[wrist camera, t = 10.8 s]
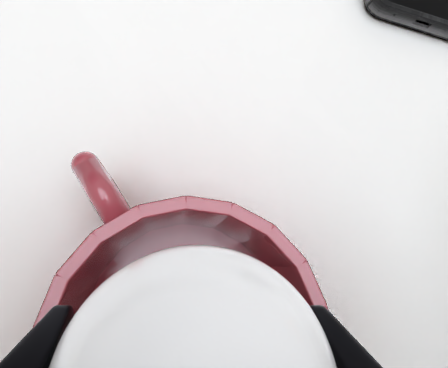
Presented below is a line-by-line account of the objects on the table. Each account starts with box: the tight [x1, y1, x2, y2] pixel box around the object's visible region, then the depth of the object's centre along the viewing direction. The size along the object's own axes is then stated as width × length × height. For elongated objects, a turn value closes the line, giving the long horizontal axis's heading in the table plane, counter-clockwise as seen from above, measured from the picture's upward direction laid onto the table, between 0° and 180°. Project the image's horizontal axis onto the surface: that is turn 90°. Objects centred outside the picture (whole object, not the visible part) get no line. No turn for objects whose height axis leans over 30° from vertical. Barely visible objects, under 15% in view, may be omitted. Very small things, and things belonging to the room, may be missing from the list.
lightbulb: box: [49, 244, 337, 368], centre depth 10 cm, size 6×6×11 cm
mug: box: [33, 152, 328, 327], centre depth 14 cm, size 13×10×6 cm
